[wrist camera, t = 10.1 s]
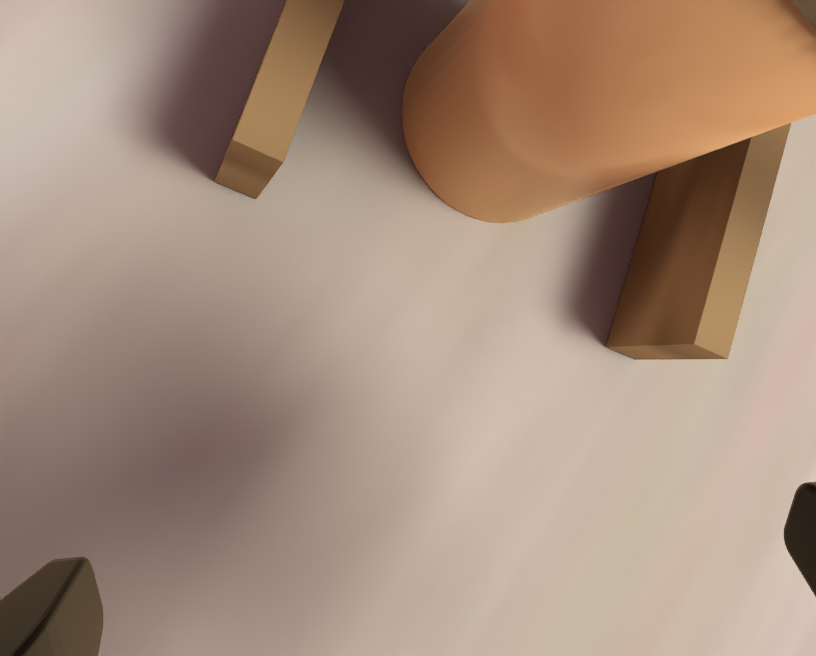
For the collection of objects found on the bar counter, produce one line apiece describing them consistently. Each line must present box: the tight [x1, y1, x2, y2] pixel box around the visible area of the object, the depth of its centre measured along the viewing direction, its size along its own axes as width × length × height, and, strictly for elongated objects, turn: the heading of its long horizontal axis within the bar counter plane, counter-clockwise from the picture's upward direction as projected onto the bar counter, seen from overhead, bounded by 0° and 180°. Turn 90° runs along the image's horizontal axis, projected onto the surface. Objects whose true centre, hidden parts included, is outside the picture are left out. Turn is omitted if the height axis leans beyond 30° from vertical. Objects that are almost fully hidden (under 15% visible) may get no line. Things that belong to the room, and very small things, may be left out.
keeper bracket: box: [215, 0, 791, 360], centre depth 18 cm, size 10×12×4 cm
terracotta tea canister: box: [402, 0, 816, 223], centre depth 14 cm, size 5×5×12 cm
